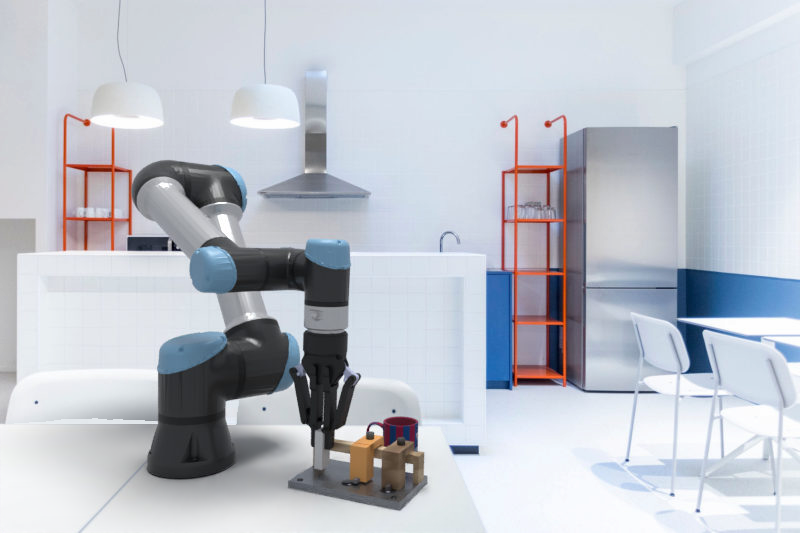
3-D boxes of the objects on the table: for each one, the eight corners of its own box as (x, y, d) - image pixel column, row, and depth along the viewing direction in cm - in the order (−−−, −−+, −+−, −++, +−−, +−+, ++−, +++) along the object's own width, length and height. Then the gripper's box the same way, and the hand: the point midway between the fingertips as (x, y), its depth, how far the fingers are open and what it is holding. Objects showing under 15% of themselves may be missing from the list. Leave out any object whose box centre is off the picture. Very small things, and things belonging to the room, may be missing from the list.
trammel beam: (298, 474, 102) (298, 434, 102) (321, 460, 110) (321, 422, 109) (407, 495, 95) (408, 451, 94) (424, 478, 102) (425, 437, 101)
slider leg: (346, 481, 99) (347, 440, 99) (367, 466, 106) (368, 427, 106) (363, 484, 98) (363, 443, 97) (383, 468, 105) (384, 430, 105)
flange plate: (288, 487, 100) (288, 480, 100) (324, 464, 111) (325, 457, 111) (399, 510, 92) (399, 501, 92) (427, 482, 103) (427, 475, 103)
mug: (412, 464, 112) (413, 427, 112) (361, 458, 115) (362, 422, 114) (421, 452, 118) (421, 418, 118) (372, 447, 121) (373, 413, 121)
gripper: (280, 329, 101) (277, 467, 103) (350, 336, 97) (345, 481, 98) (304, 323, 108) (300, 453, 110) (370, 330, 103) (365, 465, 105)
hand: (321, 466), depth 104 cm, fingers closed
